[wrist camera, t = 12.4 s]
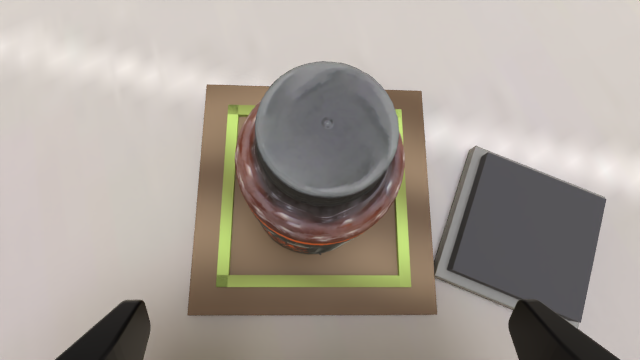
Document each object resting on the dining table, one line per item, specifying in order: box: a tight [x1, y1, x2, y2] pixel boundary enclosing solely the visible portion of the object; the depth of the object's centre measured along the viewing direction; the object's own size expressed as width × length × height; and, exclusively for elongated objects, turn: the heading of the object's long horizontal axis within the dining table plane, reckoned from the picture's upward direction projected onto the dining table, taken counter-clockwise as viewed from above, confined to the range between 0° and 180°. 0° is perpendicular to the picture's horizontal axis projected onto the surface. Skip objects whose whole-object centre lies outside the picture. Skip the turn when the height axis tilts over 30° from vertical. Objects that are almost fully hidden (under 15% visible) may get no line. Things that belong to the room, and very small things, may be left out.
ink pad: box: [434, 146, 606, 329], centre depth 21 cm, size 8×8×2 cm
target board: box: [188, 85, 437, 315], centre depth 21 cm, size 13×13×1 cm
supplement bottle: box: [235, 61, 405, 255], centre depth 16 cm, size 6×6×11 cm
